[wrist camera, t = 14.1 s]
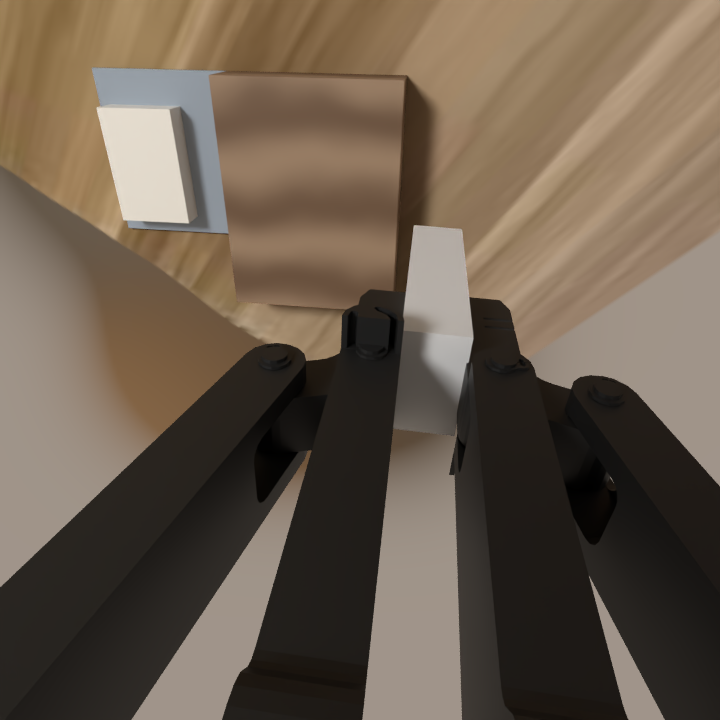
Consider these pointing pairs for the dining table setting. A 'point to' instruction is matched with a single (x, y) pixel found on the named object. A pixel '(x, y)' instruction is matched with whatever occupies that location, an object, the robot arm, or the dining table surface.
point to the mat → (198, 128)
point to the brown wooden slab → (310, 183)
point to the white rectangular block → (149, 162)
